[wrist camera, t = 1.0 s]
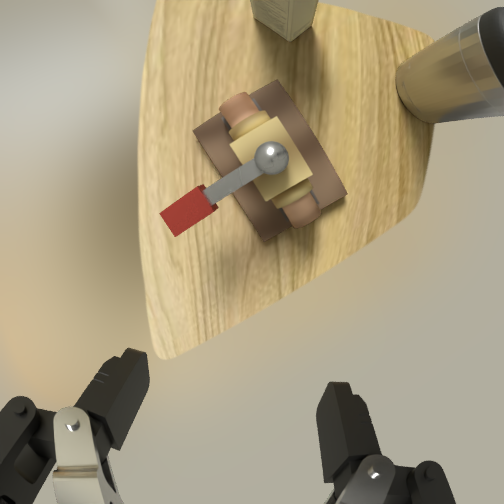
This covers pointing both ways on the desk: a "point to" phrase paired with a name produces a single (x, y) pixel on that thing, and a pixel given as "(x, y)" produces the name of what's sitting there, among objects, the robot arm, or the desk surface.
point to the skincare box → (285, 15)
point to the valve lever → (223, 188)
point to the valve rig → (279, 185)
